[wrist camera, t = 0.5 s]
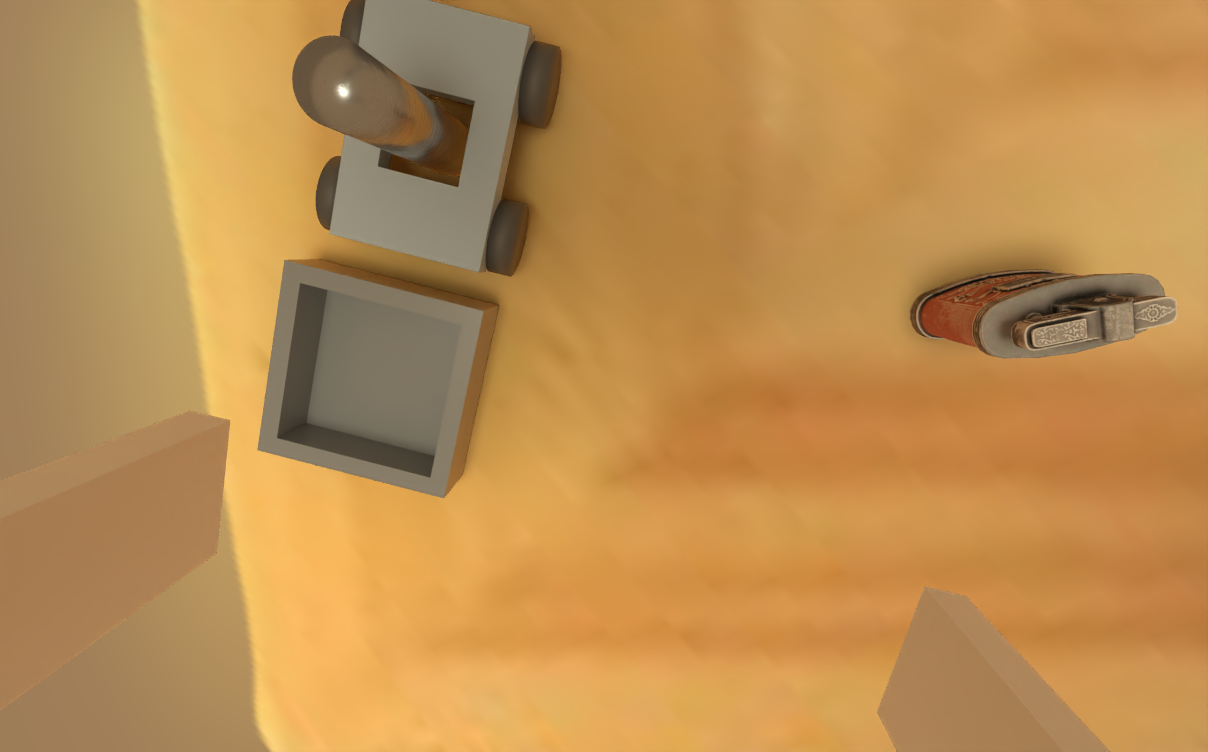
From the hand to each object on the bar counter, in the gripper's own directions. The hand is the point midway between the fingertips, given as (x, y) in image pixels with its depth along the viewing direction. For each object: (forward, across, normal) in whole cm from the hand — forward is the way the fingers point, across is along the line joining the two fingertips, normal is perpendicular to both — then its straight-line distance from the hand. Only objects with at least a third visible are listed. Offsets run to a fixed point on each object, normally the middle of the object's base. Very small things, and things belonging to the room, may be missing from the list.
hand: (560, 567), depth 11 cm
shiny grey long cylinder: (+26, -12, +9) cm, 30 cm away
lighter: (+26, +20, +7) cm, 34 cm away
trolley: (+26, -12, +9) cm, 30 cm away
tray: (+26, -13, -5) cm, 29 cm away
